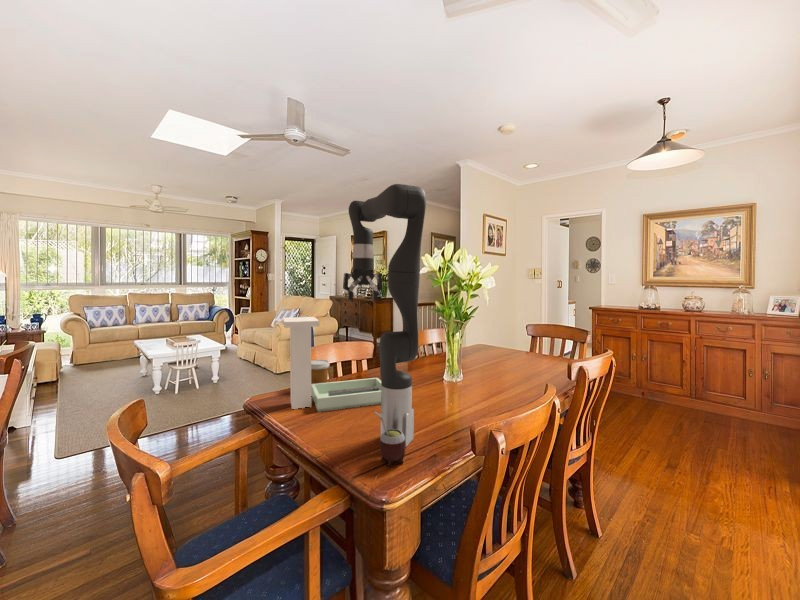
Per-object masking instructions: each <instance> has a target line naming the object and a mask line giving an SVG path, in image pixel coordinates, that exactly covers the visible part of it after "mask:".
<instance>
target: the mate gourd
mask: <svg viewBox="0 0 800 600" xmlns="http://www.w3.org/2000/svg"><path fill="white" fill-rule="evenodd" d="M373 413H374V414H375V415H376V416H378V417H379V419H380V422H381V421H382V423H383V426H384V429H385V431H384V432H383V434H382V435H381V434H380V437H379V450H380V455H381V459H380V461H382V462H387V463H388V464H387V465H386V468H387V467H389V468H388V469H390V468H391V467H392V466H393V464H396V463H397V465H402V464H403V463H405V462H404V457H405V455H406V448H407V447H406V441H405V436H404V434H403V433H402V432H401V431H400V430H397V429H388V430H387V429H386V426H385V423H384V419H383V417H382V416H381V413H378V412H376V411H373ZM391 465H392V466H391ZM403 465H404V464H403Z"/></svg>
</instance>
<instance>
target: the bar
mask: <svg viewBox="0 0 800 600" xmlns="http://www.w3.org/2000/svg"><path fill="white" fill-rule="evenodd" d="M372 391H379V388H378V387H377V386H372V387H363V388H354V389H344V390H335V391H328V396H336V395H345V394H354V393H363V392H372Z"/></svg>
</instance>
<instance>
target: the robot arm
mask: <svg viewBox="0 0 800 600" xmlns="http://www.w3.org/2000/svg"><path fill="white" fill-rule="evenodd" d="M426 196H427V195H426V192H425V190H424V188H422V187H420V186H415V185H411V184H410V185H408V184H402V183H395V184H394V183H393V184H391V185H389V186H387V188H385V189H384V190H383V191H382V192H380V193H379V194H378V195H377V196H375V197H371V198H369V199H366V200H365V201H362V200H352V201H351V202H350V203H349V206H348V216H349V220H350V222H351V227H352V232H353V234H352V235H353V246H352V247H353V249H352V256H351V257H352V272H351V273H347V272H344V273H343V280H342V281H343V284H342V289H343V290H345V291H347V299H348V301H349V302H350V303H353V302H354V291H353V290H354V289H355V288H356V287H357V286H369V287H370V288H371V290H372V292H371V294H372V295H371V302H373V303H375V302H376V301H377V300H378V291H381V290H383V276H382V275H383V274H382V273H374V232H373V229H371V228H368V227H366V226H364V225H363V224H362V222H364V223H365V222H366V223H373V222H376V221H377V220H380V219H383V218H385V217H386V216H387V217H392V218H395V219H403V220H407V225H406V231H405V234H404V237H403V239H402V242H401V243H400V245H398V247H397V249H396V250H395V252H394V253H393V255H392V257H391V259H390V261H389V263H388V268H387V269H388V271H387V289H388V291H389V294H390V296H391V298H392V300H393V302H394V303H395V305H396V306H397V308H398V310H399V312H400V315H401V320H402V331H401V330H400V331H386V332H384V333H382V334H381V335H380V339H379V348H378V349H379V367H380V368H379V370H380V371H379V372H380V378H381V379H380V380H381V404H380V415H381V416H382V417H383V419H384V423H385V426H386V429H387V430H388V429H397V430H400V431H401V432H402V433H403V434H404V436H405V441H406V448H407V447H408V445H409V444H411V442H412V441H413V440H414V433H415V432H414V429H415V428H414V427H415V423H414V422H415V421H414V419H415V418H414V417H415V416H414V415H415V409H414V408H413V407H412V405H413V404H412V402H413V401H412V400H413V399H412V396H413V393H412V392H413V389H412V388H413V378H412V375H411V374H409V373H407V372H405V371H401V370H398V369H397V366H396V365H397V363H398V364H399V363H409V362H413V361H415V359H416V358H417V356H418V353H419V319H418V318H419V317H418V315H419V313H418V312H419V311H418V308H419V290H420V278H421V277H420V275H421V249H422V238H423V232H424V231H423V229H424V223H425V216H426V209H427V208H426V205H427V197H426ZM374 278H375V280H376V283H377V284H375V283H374V281H373V280H374ZM350 279H352V280H353V281H352V283H350V285H349V280H350ZM384 431H385V429H384V426H383V423H382V421H381V420H380V436H381V435H382V434H383V432H384Z"/></svg>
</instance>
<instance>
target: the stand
mask: <svg viewBox="0 0 800 600" xmlns="http://www.w3.org/2000/svg"><path fill="white" fill-rule="evenodd" d="M282 325H283V327H284V329H286V328H289V359H290V361H289V362H290V363H289V364H290V366H289V368H290V373H289V374H290V377H289V378H290V381H289V382H290V386H289V387H290V407H291V410H292V409H294V410H299V409H298V408H302V409H306V408H305V407H310V408H312V397H311V361H312V328H313V327H316V328H317V327H320V321H319V319H317V317H315V316H297V317H294V316H293V317H282Z"/></svg>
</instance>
